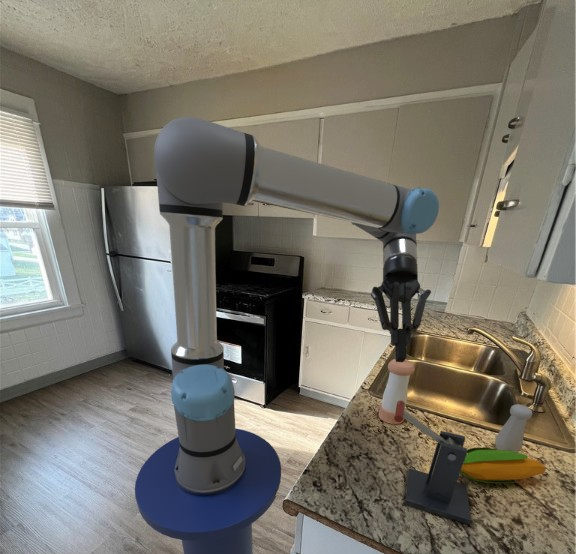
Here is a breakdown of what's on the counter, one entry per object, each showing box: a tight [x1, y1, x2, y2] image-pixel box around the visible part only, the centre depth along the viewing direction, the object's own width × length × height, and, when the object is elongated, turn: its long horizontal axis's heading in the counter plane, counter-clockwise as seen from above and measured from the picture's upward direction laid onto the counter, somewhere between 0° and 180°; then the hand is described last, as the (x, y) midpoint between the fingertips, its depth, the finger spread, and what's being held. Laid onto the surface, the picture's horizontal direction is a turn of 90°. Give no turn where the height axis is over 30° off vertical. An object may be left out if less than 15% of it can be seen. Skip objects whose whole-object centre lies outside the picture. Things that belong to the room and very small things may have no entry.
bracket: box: [404, 430, 472, 526], centre depth 64 cm, size 12×10×15 cm
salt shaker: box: [494, 403, 533, 453], centre depth 78 cm, size 6×6×13 cm
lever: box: [394, 401, 461, 447], centre depth 62 cm, size 14×6×2 cm, turn 69°
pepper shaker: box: [378, 358, 415, 425], centre depth 89 cm, size 7×7×19 cm
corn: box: [460, 446, 547, 484], centre depth 71 cm, size 7×8×20 cm
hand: (400, 359), depth 65 cm, fingers closed
